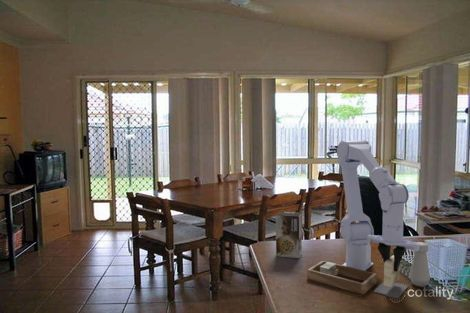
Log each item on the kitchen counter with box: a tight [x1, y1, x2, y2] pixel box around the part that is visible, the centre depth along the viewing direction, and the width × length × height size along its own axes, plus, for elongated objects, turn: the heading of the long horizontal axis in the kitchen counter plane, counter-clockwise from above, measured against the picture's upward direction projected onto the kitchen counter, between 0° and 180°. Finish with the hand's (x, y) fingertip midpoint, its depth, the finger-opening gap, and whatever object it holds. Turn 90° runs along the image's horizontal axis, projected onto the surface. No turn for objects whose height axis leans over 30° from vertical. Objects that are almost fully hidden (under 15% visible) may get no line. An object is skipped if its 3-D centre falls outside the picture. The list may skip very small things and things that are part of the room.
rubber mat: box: [373, 281, 409, 300], centre depth 118 cm, size 10×7×1 cm
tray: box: [306, 260, 378, 295], centre depth 125 cm, size 11×19×3 cm, turn 50°
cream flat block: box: [383, 254, 401, 287], centre depth 118 cm, size 8×2×7 cm, turn 140°
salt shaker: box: [408, 241, 431, 288], centre depth 121 cm, size 6×6×13 cm
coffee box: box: [275, 210, 303, 259], centre depth 149 cm, size 9×6×16 cm
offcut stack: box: [320, 261, 339, 277], centre depth 129 cm, size 7×4×4 cm, turn 140°
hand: (391, 269), depth 117 cm, fingers closed on cream flat block, 2 cm apart
